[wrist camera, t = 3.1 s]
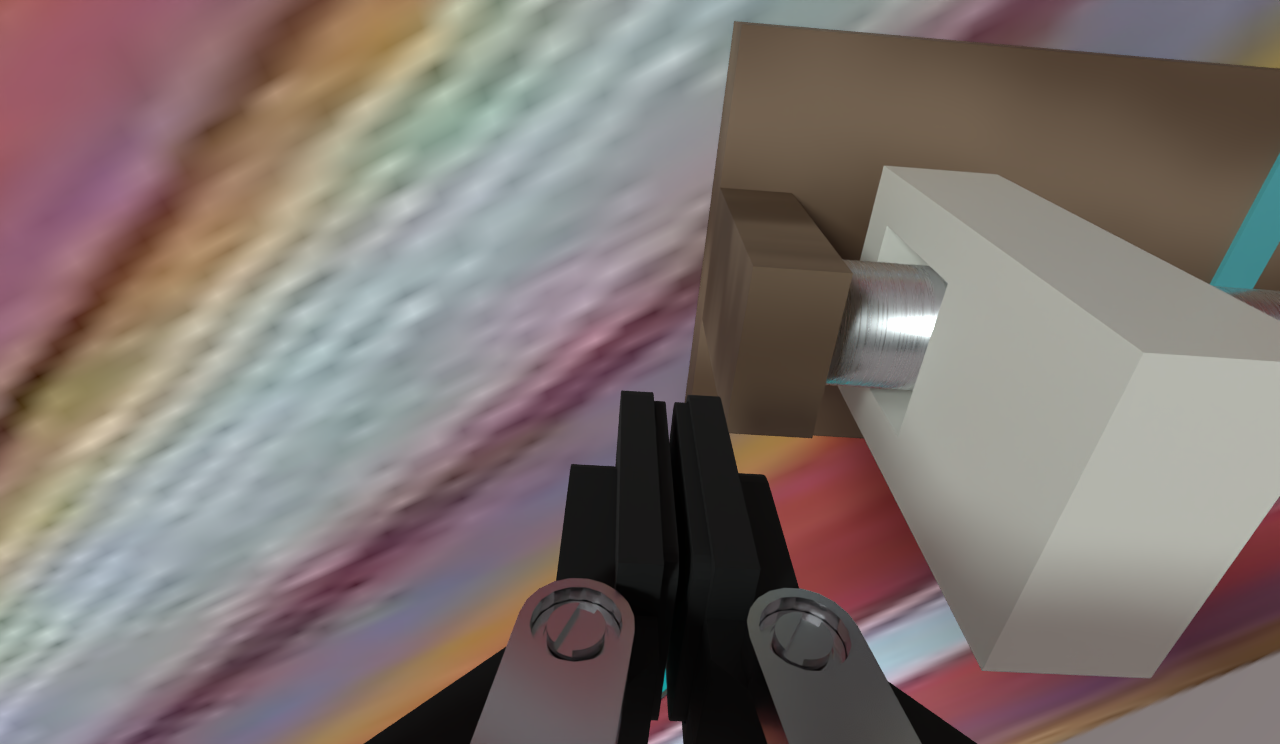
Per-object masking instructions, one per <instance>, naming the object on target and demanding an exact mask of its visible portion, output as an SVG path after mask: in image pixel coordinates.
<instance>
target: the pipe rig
mask: <svg viewBox="0 0 1280 744" xmlns="http://www.w3.org/2000/svg"><path fill="white" fill-rule="evenodd" d="M884 166H897V167H909V168H922V169H935V170H948V171H960V172H973V173H986V174H998V175H999V176H1001V177H1003V178H1005V179H1007V180H1009V181H1011V182H1013V183H1015V184H1017V185H1019V186H1021V187H1023V188H1025V189H1026V190H1028V191H1030V192H1032V193H1034V194H1036V195H1038V196H1040V197H1042V198H1044V199H1046V200H1048V201H1050V202H1052V203H1053V204H1055V205H1057V206H1059V207H1061V208H1063V209H1065V210H1067V211H1069V212H1071V213H1073V214H1075V215H1077V216H1079V217H1080V218H1082V219H1084V220H1086V221H1088V222H1090V223H1092V224H1094V225H1096V226H1098V227H1100V228H1102V229H1104V230H1106V231H1107V232H1109V233H1111V234H1113V235H1115V236H1117V237H1119V238H1121V239H1123V240H1125V241H1127V242H1129V243H1131V244H1133V245H1134V246H1136V247H1138V248H1140V249H1142V250H1144V251H1146V252H1148V253H1150V254H1152V255H1154V256H1156V257H1158V258H1160V259H1161V260H1163V261H1165V262H1167V263H1169V264H1171V265H1173V266H1175V267H1177V268H1179V269H1181V270H1183V271H1185V272H1187V273H1188V274H1190V275H1192V276H1194V277H1196V278H1198V279H1200V280H1202V281H1204V282H1206V283H1208V284H1210V285H1212V286H1214V287H1215V288H1217V289H1219V290H1221V291H1223V292H1225V293H1227V294H1229V295H1231V296H1233V297H1235V298H1237V299H1239V300H1241V301H1242V302H1244V303H1246V304H1248V305H1250V306H1252V307H1254V308H1256V309H1258V310H1260V311H1262V312H1264V313H1266V314H1268V315H1269V316H1271V317H1273V318H1275V319H1277V320H1279V321H1280V69H1277V68H1266V67H1254V66H1243V65H1231V64H1220V63H1208V62H1197V61H1185V60H1174V59H1162V58H1150V57H1139V56H1127V55H1116V54H1104V53H1093V52H1081V51H1070V50H1058V49H1047V48H1035V47H1024V46H1012V45H1001V44H989V43H978V42H966V41H955V40H943V39H932V38H920V37H909V36H897V35H886V34H874V33H863V32H851V31H840V30H828V29H817V28H805V27H794V26H782V25H771V24H759V23H748V22H736V21H734V28H733V35H732V43H731V51H730V58H729V66H728V74H727V81H726V89H725V97H724V104H723V112H722V120H721V127H720V135H719V143H718V151H717V158H716V166H715V174H714V181H713V189H712V197H711V204H710V212H709V220H708V227H707V235H706V243H705V251H704V258H703V266H702V274H701V281H700V289H699V297H698V304H697V312H696V320H695V327H694V335H693V343H692V350H691V358H690V366H689V374H688V381H687V389H686V397H685V403H686V398H687V395H703V396H719V397H720V398H721V401H722V405H723V409H724V414H725V418H726V422H727V427H728V431H729V433H735V434H751V435H768V436H785V437H801V438H812V436H813V435H816V436H833V437H849V438H864V437H863V435H862V433H861V431H860V429H859V427H858V425H857V423H856V421H855V419H854V417H853V415H852V413H851V411H850V409H849V407H848V405H847V404H846V402H845V400H844V398H843V396H842V394H841V392H840V390H839V388H838V386H850V387H866V388H882V389H898V390H913V389H914V386H915V383H916V380H917V377H918V374H919V371H920V368H921V365H922V362H923V358H924V355H925V352H926V349H927V346H928V343H929V340H930V337H931V334H932V331H933V328H934V325H935V322H936V319H937V316H938V312H939V309H940V306H941V303H942V300H943V297H944V294H945V291H946V288H947V285H948V283H947V282H946V281H945V280H944V279H943V278H942V277H941V276H940V275H939V274H938V273H937V272H936V271H935V270H934V269H933V268H931V267H930V266H927V265H913V264H899V263H885V262H871V261H860V258H861V254H862V250H863V246H864V242H865V238H866V234H867V230H868V226H869V222H870V218H871V214H872V210H873V206H874V202H875V198H876V194H877V190H878V186H879V183H880V179H881V175H882V171H883V167H884Z"/></svg>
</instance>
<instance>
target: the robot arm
mask: <svg viewBox="0 0 1280 744" xmlns="http://www.w3.org/2000/svg"><path fill="white" fill-rule="evenodd" d="M665 669H666V684H667V703H668V717H669V720H670V721H682V730H683V744H977V743H975V742H974V741H972V740H971V739H970V738H968V737H967V736H965V735H964V734H962V733H961V732H960V731H958V730H957V729H955V728H954V727H952V726H951V725H950V724H948V723H947V722H945V721H944V720H942V719H941V718H940V717H938V716H937V715H935V714H934V713H932V712H931V711H930V710H928V709H927V708H925V707H924V706H923V705H921V704H920V703H918V702H917V701H915V700H914V699H913V698H911V697H910V696H908V695H907V694H905V693H904V692H903V691H901V690H900V689H898V688H897V687H895V686H894V685H893V684H891V683H890V682H888V681H887V679H886V677H885V675H884V674H883V672H882V670H881V668H880V666H879V664H878V663H877V661H876V659H875V657H874V655H873V653H872V652H871V650H870V648H869V646H868V644H867V642H866V641H865V639H864V637H863V635H862V633H861V631H860V629H859V628H858V626H857V625H856V623H855V622H854V621H853V619H852V618H851V617H850V615H849V614H848V613H847V612H846V611H845V610H843V609H842V608H841V607H840V606H839V605H837V604H836V603H835V602H834V601H832V600H830V599H828V598H826V597H824V596H822V595H820V594H818V593H815V592H811V591H808V590H804V589H799V586H798V583H797V580H796V576H795V573H794V569H793V566H792V562H791V559H790V555H789V552H788V549H787V545H786V542H785V538H784V535H783V531H782V528H781V524H780V521H779V518H778V514H777V511H776V507H775V504H774V500H773V497H772V493H771V490H770V487H769V483H768V481H767V478H766V477H765V476H764V475H761V474H742V473H738V470H737V465H736V461H735V457H734V452H733V448H732V444H731V440H730V435H729V431H728V427H727V422H726V418H725V414H724V409H723V405H722V401H721V398H720V397H719V396H703V395H687V398H686V403H679V402H675V403H674V408H673V416H672V425H671V433H670V441H669V435H668V424H667V413H666V403H665V402H663V401H654V395H653V392H636V391H621V399H620V413H619V426H618V440H617V453H616V467H614V466H595V465H577V464H571V469H570V476H569V484H568V492H567V500H566V508H565V515H564V523H563V531H562V539H561V547H560V555H559V563H558V570H557V578H556V581H554V582H552V583H550V584H548V585H546V586H544V587H542V588H539V589H538V590H537V591H536V592H535V593H534V594H533V595H531V596H530V597H529V598H528V599H527V600H526V602H525V604H524V605H523V607H522V609H521V610H520V612H519V615H518V617H517V620H516V623H515V625H514V628H513V631H512V633H511V636H510V639H509V641H508V644H507V646H506V647H505V648H504V649H502V650H501V651H499V652H498V653H496V654H495V655H493V656H492V657H490V658H489V659H487V660H486V661H484V662H483V663H482V664H480V665H479V666H477V667H476V668H474V669H473V670H471V671H470V672H468V673H467V674H465V675H464V676H462V677H461V678H460V679H458V680H457V681H455V682H454V683H452V684H451V685H449V686H448V687H446V688H445V689H443V690H442V691H441V692H439V693H438V694H436V695H435V696H433V697H432V698H430V699H429V700H427V701H426V702H424V703H423V704H421V705H420V706H419V707H417V708H416V709H414V710H413V711H411V712H410V713H408V714H407V715H405V716H404V717H402V718H401V719H399V720H398V721H397V722H395V723H394V724H392V725H391V726H389V727H388V728H386V729H385V730H383V731H382V732H380V733H379V734H377V735H376V736H375V737H373V738H372V739H370V740H369V741H367V742H366V743H364V744H648V737H649V730H650V722H651V720H658V717H659V711H660V704H661V697H662V690H663V683H664V676H665Z"/></svg>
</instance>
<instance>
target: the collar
mask: <svg viewBox="0 0 1280 744" xmlns="http://www.w3.org/2000/svg"><path fill="white" fill-rule="evenodd" d="M860 261H871V262H885V263H899V264H913V265H927V266H930V267H931V268H933V269H934V270H935V271H936V272H937V273H938V274H939V275H940V276H941V277H942V278H943V279H944V280H945V281H946V282H947V283H948V285H947V288H946V291H945V294H944V297H943V300H942V303H941V306H940V309H939V312H938V316H937V319H936V322H935V325H934V328H933V331H932V334H931V337H930V340H929V343H928V346H927V349H926V352H925V355H924V358H923V362H922V365H921V368H920V371H919V374H918V377H917V380H916V383H915V386H914V389H913V390H898V389H882V388H866V387H850V386H838V388H839V390H840V392H841V394H842V396H843V398H844V400H845V402H846V404H847V405H848V407H849V409H850V411H851V413H852V415H853V417H854V419H855V421H856V423H857V425H858V427H859V429H860V431H861V433H862V435H863V437H864V439H865V441H866V443H867V445H868V447H869V449H870V451H871V453H872V455H873V457H874V459H875V461H876V463H877V465H878V467H879V469H880V471H881V473H882V475H883V477H884V478H885V480H886V482H887V484H888V486H889V488H890V490H891V492H892V494H893V496H894V498H895V500H896V502H897V504H898V506H899V508H900V510H901V512H902V514H903V516H904V518H905V520H906V522H907V524H908V526H909V528H910V530H911V532H912V534H913V536H914V538H915V540H916V542H917V544H918V546H919V548H920V550H921V551H922V553H923V555H924V557H925V559H926V561H927V563H928V565H929V567H930V569H931V571H932V573H933V575H934V577H935V579H936V581H937V583H938V585H939V587H940V589H941V591H942V593H943V595H944V597H945V599H946V601H947V603H948V605H949V607H950V609H951V611H952V613H953V615H954V617H955V619H956V621H957V623H958V624H959V626H960V628H961V630H962V632H963V634H964V636H965V638H966V640H967V642H968V644H969V646H970V648H971V650H972V652H973V654H974V656H975V658H976V660H977V662H978V664H979V666H980V668H981V670H982V671H999V672H1021V673H1043V674H1065V675H1088V676H1110V677H1132V678H1151V677H1152V676H1153V674H1154V673H1155V671H1156V670H1157V669H1158V667H1159V666H1160V664H1161V663H1162V662H1163V660H1164V659H1165V657H1166V656H1167V654H1168V653H1169V652H1170V650H1171V649H1172V647H1173V646H1174V645H1175V643H1176V642H1177V640H1178V639H1179V638H1180V636H1181V635H1182V633H1183V632H1184V630H1185V629H1186V628H1187V626H1188V625H1189V623H1190V622H1191V621H1192V619H1193V618H1194V616H1195V615H1196V614H1197V612H1198V611H1199V609H1200V608H1201V606H1202V605H1203V604H1204V602H1205V601H1206V599H1207V598H1208V597H1209V595H1210V594H1211V592H1212V591H1213V589H1214V588H1215V587H1216V585H1217V584H1218V582H1219V581H1220V580H1221V578H1222V577H1223V575H1224V574H1225V573H1226V571H1227V570H1228V568H1229V567H1230V565H1231V564H1232V563H1233V561H1234V560H1235V558H1236V557H1237V556H1238V554H1239V553H1240V551H1241V550H1242V548H1243V547H1244V546H1245V544H1246V543H1247V541H1248V540H1249V539H1250V537H1251V536H1252V534H1253V533H1254V532H1255V530H1256V529H1257V527H1258V526H1259V524H1260V523H1261V522H1262V520H1263V519H1264V517H1265V516H1266V515H1267V513H1268V512H1269V510H1270V509H1271V508H1272V506H1273V505H1274V503H1275V502H1276V500H1277V499H1278V498H1279V496H1280V321H1279V320H1277V319H1275V318H1273V317H1271V316H1269V315H1268V314H1266V313H1264V312H1262V311H1260V310H1258V309H1256V308H1254V307H1252V306H1250V305H1248V304H1246V303H1244V302H1242V301H1241V300H1239V299H1237V298H1235V297H1233V296H1231V295H1229V294H1227V293H1225V292H1223V291H1221V290H1219V289H1217V288H1215V287H1214V286H1212V285H1210V284H1208V283H1206V282H1204V281H1202V280H1200V279H1198V278H1196V277H1194V276H1192V275H1190V274H1188V273H1187V272H1185V271H1183V270H1181V269H1179V268H1177V267H1175V266H1173V265H1171V264H1169V263H1167V262H1165V261H1163V260H1161V259H1160V258H1158V257H1156V256H1154V255H1152V254H1150V253H1148V252H1146V251H1144V250H1142V249H1140V248H1138V247H1136V246H1134V245H1133V244H1131V243H1129V242H1127V241H1125V240H1123V239H1121V238H1119V237H1117V236H1115V235H1113V234H1111V233H1109V232H1107V231H1106V230H1104V229H1102V228H1100V227H1098V226H1096V225H1094V224H1092V223H1090V222H1088V221H1086V220H1084V219H1082V218H1080V217H1079V216H1077V215H1075V214H1073V213H1071V212H1069V211H1067V210H1065V209H1063V208H1061V207H1059V206H1057V205H1055V204H1053V203H1052V202H1050V201H1048V200H1046V199H1044V198H1042V197H1040V196H1038V195H1036V194H1034V193H1032V192H1030V191H1028V190H1026V189H1025V188H1023V187H1021V186H1019V185H1017V184H1015V183H1013V182H1011V181H1009V180H1007V179H1005V178H1003V177H1001V176H999V175H998V174H986V173H973V172H960V171H948V170H935V169H922V168H909V167H897V166H884V167H883V171H882V175H881V179H880V183H879V186H878V190H877V194H876V198H875V202H874V206H873V210H872V214H871V218H870V222H869V226H868V230H867V234H866V238H865V242H864V246H863V250H862V254H861V258H860Z"/></svg>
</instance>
